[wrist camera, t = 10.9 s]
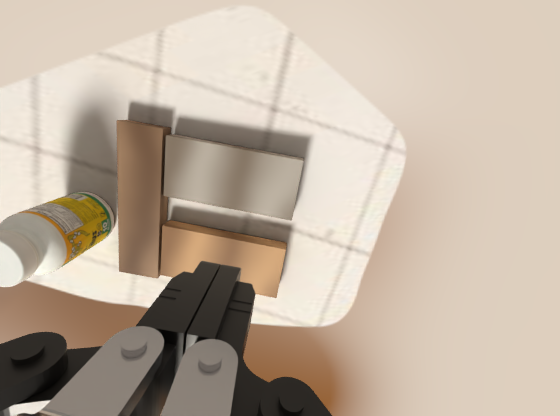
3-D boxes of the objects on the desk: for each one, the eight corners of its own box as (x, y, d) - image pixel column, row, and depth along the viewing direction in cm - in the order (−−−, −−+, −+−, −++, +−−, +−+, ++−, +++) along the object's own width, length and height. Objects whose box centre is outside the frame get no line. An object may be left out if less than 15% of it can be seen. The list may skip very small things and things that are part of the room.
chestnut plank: (167, 267, 30) (160, 274, 29) (169, 220, 28) (162, 225, 27) (277, 289, 30) (276, 298, 28) (286, 242, 28) (285, 249, 27)
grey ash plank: (171, 191, 27) (163, 195, 26) (173, 134, 26) (165, 135, 24) (292, 214, 27) (291, 220, 26) (303, 158, 25) (303, 160, 24)
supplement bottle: (85, 179, 28) (-20, 211, 19) (127, 218, 29) (47, 267, 20) (55, 213, 29) (-56, 258, 20) (96, 249, 30) (8, 307, 21)
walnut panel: (128, 263, 30) (119, 271, 29) (127, 119, 26) (116, 120, 24) (164, 270, 30) (157, 278, 29) (170, 127, 26) (162, 128, 24)
